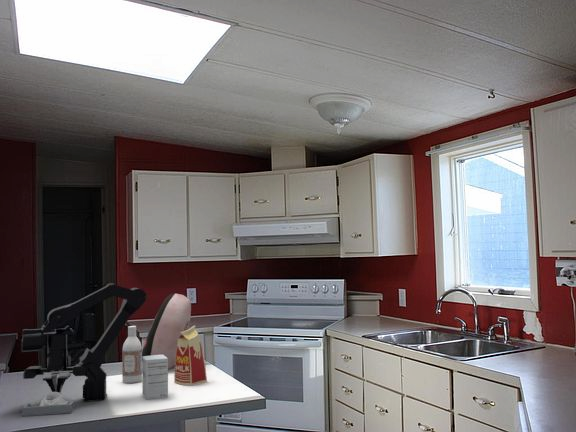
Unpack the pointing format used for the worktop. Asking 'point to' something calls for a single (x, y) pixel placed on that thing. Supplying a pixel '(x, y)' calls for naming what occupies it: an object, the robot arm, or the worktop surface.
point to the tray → (48, 409)
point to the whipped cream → (53, 399)
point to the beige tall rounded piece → (168, 328)
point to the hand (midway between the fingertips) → (57, 398)
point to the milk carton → (189, 359)
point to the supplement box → (155, 376)
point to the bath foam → (132, 358)
